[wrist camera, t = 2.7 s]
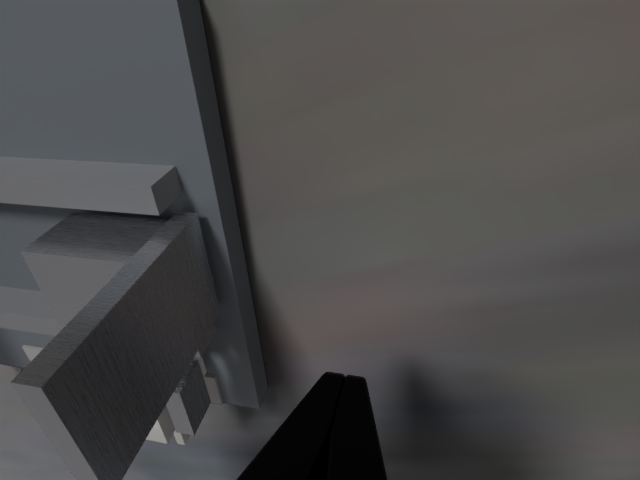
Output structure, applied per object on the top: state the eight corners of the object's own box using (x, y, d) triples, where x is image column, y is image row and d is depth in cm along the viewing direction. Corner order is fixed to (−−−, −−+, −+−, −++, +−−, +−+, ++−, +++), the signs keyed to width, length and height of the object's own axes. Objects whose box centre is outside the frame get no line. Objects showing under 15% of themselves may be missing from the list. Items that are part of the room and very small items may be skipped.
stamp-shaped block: (197, 340, 15) (154, 412, 13) (216, 406, 17) (182, 478, 15) (165, 336, 15) (118, 405, 13) (188, 401, 17) (150, 470, 15)
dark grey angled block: (196, 212, 12) (40, 387, 7) (234, 371, 15) (146, 557, 11) (69, 203, 13) (-144, 354, 8) (133, 355, 16) (10, 521, 12)
